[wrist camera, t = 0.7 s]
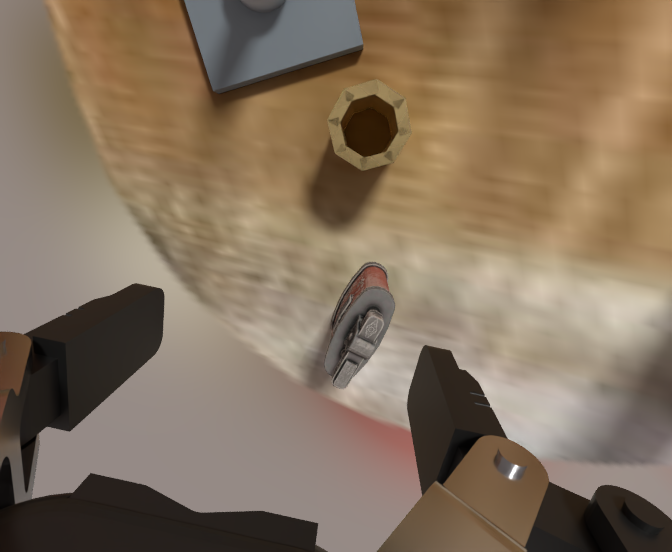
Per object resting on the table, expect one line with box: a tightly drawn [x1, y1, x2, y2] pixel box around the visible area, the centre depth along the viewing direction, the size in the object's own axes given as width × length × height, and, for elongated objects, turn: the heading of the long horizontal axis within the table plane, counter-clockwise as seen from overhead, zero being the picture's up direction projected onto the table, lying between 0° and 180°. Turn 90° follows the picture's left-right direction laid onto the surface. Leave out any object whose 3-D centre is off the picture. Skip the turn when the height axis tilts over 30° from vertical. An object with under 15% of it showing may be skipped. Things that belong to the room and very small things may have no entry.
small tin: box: [324, 262, 395, 389], centre depth 29 cm, size 8×3×10 cm, turn 153°
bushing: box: [327, 79, 412, 171], centre depth 26 cm, size 5×5×6 cm
